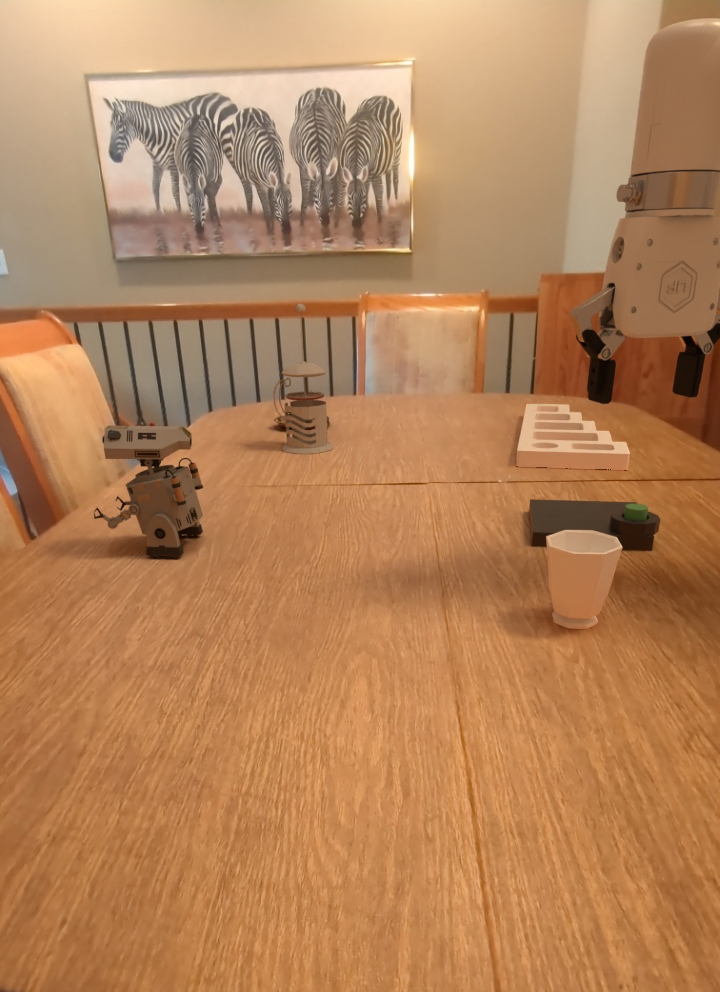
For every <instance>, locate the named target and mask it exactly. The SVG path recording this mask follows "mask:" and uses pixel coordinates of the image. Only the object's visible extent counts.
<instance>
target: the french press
mask: <svg viewBox="0 0 720 992" xmlns="http://www.w3.org/2000/svg"><path fill="white" fill-rule="evenodd" d="M294 311H295V312H299V314H300V315H299V317H300V334H301V353H302V354H301V355H302V361H300V362H297V363H294V364H291V365H289V366H287V367H286V368H285V369H283V370H282V371H281V375H282V376H284V377H287V378H282V379H280V380H278V382H276V384H275V386H274V388H273V396H272V397H273V405H274V408H275V410H276V413H277V414H278V416H279V417H280V416H281V417H282V418H283V419H285V420H286V427H285V434H286V443H285V444H284V445H283V446H282V447H281V450H282V451H283V452H285V453H289V454H297V455H309V454H311V455H312V454H313V455H314V454H320V453H321V454H322V453H325V452H329V451H331V450H333V449H334V445H333V444H332V443H331V442H330V441H329V439H328V426H327V416H328V414H327V413H328V412H327V401H325V400H320V399H323V398H324V397H325V394H324V392H321V391H312V390H310V391H306V378H316V377H322V376H325V375H326V373H327V370H326V369H324V368H323V367H322V366H320V365H318V364H315V363H311V362H307V361H305V355H304V353H305V352H304V336H303V317H302V316H303V315H302V312H306V311H307V307H306V306H305V305H304V303H298V304H297V305H295V308H294ZM291 378H303V391H302V390H301V391H294V392H289V393H286V394H285V398H286V399H287V400H290V402H285V403H284V408H283V405H282V401H281V389H282V387H283V385H284V387H285V388H289V387H290V386H291V385H292V383H291V382H292V380H291ZM286 381H288V382H289V384H286ZM279 384H280V385H279ZM278 385H279V389H278V403H279V405H280V408H281V412H283V414H284V415H285V418H284V417H283V416H284V415H282V414H281V413H280V412H279V410H278V408H277V405H276V397H275V396H276V395H275V394H276V390H277V387H278ZM311 391H312V392H311ZM297 400H298V401H297ZM289 404H290V405H289ZM312 405H313V407H307V406H312ZM288 412H290V413H291V416H289V415H288V414H290V413H288ZM302 418H303V419H302ZM289 419H290V420H291V423H289ZM308 420H315V422H312V423H304V422H306V421H308ZM313 426H314V427H315V429H313V430H307V428H308V427H313ZM290 427H291V429H290Z"/></svg>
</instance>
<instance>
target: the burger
mask: <svg viewBox="0 0 720 992" xmlns="http://www.w3.org/2000/svg"><path fill="white" fill-rule="evenodd" d="M310 391H311V392H313V390H310ZM296 401H298V400H296ZM307 407H313V405H312V406H307ZM288 415H289V416H291V413H290V412H288ZM281 416H283V417H284V418H285V414H284V415H281ZM281 416H280V415H279V416H278V417H276V418H274V419H273V421H274V422H275V423H276V424H278V425H279V426H281V427H285V428H286V420H285V419H283V418H282V417H281ZM302 419H303V418H302ZM312 422H315V420H308V421H306V422H304V423H312ZM289 423H291V420H290V419H289ZM328 426H331V424H330V417H329V416H328V415H327V427H328ZM290 428H291V429H292V427H289V429H290ZM313 429H315V427H314V426H313V427H308V428H306V430H313Z"/></svg>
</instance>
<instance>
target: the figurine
mask: <svg viewBox="0 0 720 992" xmlns="http://www.w3.org/2000/svg"><path fill="white" fill-rule="evenodd" d="M192 435H193V434H192V432H191V431H190V430H188V429H187V428H186V427H184V426H181V425H180V426H171V425H167V426H166V425H163V426H162V425H155V423H154V422H150V423H149V424H148V425H107V426H106V427H105V428H104V435H102V439H101V440H102V444H103V452H104V458H105V460H136V461H139V465H140V467H141V468H144V467H145V468H146V467H147V468H146V469H145V470H141V471H140V472H138V473H136V474H135V476H134V477H135V478H133V479H132V480H130V481H128V482H127V483H126V484H125V487H126V490H127V493H128V495H129V496H128V497H129V499H130V500H128V501H127V500H126V501H123V499H121V498H120V496H116V499H115V501H114V502H118V501H119V502H120V503H121V506H120V507H119V506H116V508H117V509H118V510H119V511H120V512H119V514H117V515H116V516H112V517H108V516H107V515H106V514H104V513H103V512H102V511H101V510H100V509H99V507H96V508H95V510H94V511H93V519H94V520H97V519H103V520H105V521H106V522H107V527H108V528H109V529H111V530H114V529H116V528H117V527H118V526H119V524H121V523H123V522H124V521H125V522H126V521H128V520H130V519H131V518H132V516H136V519H137V522H138V525H139V528H140V531H141V534H142V535H145V536H146V547H145V555H146V556H148V557H149V558H150V559H154V558H156V559H161V558H162V557H163V556H164V557H165V558H166V559H168V560H170V559H172V558H173V559H174V560H176V559H178V558H179V557H181V556H182V555H183V554H184V552H185V551H184V549H183V548H184V547H183V544H181V542H180V538H181V537H182V536H183V535H184V536H186V537H187V538H191V537H193V538H197V537H198V536H200V535H202V533H204V531H203V526H202V524H201V522H200V519H201V518H202V517H204V514H203V510H202V507H201V504H200V501H199V497H198V493H197V491H198V490H202V489H204V485H203V483H202V480H201V477H200V476H201V475H200V473H199V469H198V466H197V463H196V462H192V460H191V459H190V458H188V457H183V458H181V459H179V461H178V465H177V466H175V465H173V464H164V465H161V464H162V462H163V461H164V460H165V458H167V457H169V456H171V455H172V454H174V453H176V452H178V451H179V450H181V451H182V450H187V451H188V450H189V451H190V450H191V449H192V446H193V437H192ZM184 460H188V461H189V464H188V466H186V465H185V466H184V465H181V462H182V461H184ZM125 506H128V509H124V508H125ZM96 512H98V515H97V516H96Z"/></svg>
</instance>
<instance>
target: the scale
mask: <svg viewBox="0 0 720 992" xmlns="http://www.w3.org/2000/svg"><path fill="white" fill-rule="evenodd" d="M627 504H638V502H636V501H608V500H607V501H606V500H605V501H604V500H603V501H601V500H571V499H569V500H568V499H536V498H535V499H533V498H532V499H531V498H529V507H528V518H529V531H530V542H531V543H530V544H531V547H533V548H535V547H536V548H537V547H538V548H539V547H540V548H547V543H546V536H549V535H552V534H555V533H557V532H560V531H563V530H593V531H597V532H600V533H604V534H607V535H611V536H614V537H617V539H618V540H619V542H620V544H621V545H622V551H643V552H644V551H645V552H652V551H653V546H654V540H655V535H656V534H657V533H659V530H660V524H661V517H660V515H659V514H656V513H654V512H651V511H648V514H647V520H642V521H641V520H630V519H625V518H624V513H625V506H626V505H627Z"/></svg>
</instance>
